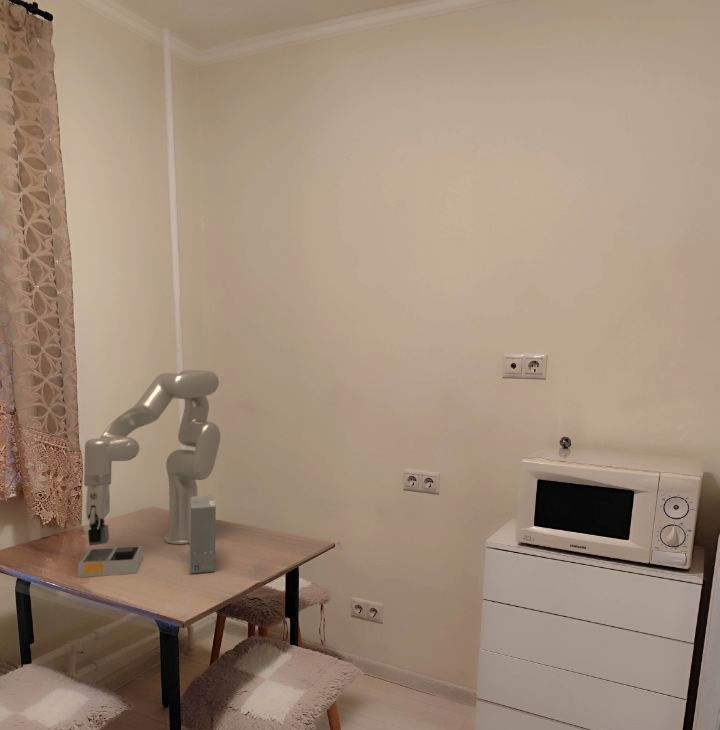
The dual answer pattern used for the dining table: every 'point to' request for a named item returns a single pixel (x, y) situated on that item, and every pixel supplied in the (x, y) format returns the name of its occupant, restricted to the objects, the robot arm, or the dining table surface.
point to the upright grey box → (102, 536)
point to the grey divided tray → (110, 561)
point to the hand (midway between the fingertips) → (96, 538)
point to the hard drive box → (202, 534)
